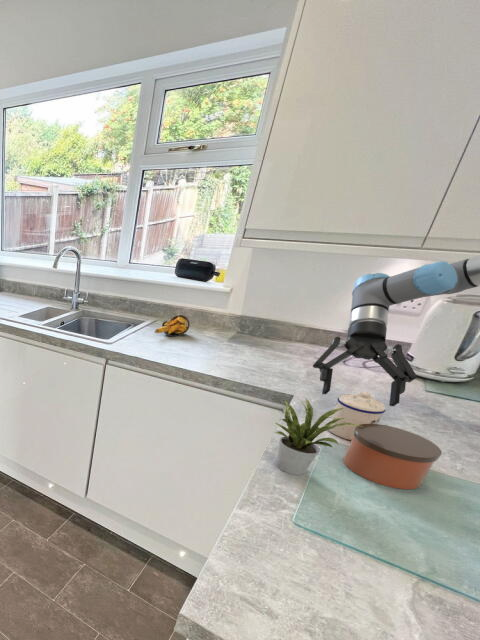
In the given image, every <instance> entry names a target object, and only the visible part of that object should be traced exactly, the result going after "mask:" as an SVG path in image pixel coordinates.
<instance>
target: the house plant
mask: <svg viewBox="0 0 480 640" xmlns="http://www.w3.org/2000/svg"><path fill="white" fill-rule="evenodd" d="M282 401H283V402H284V403H285V405H286V406H285V411H284V412H283V411H281V410H279V412H280V413H282V414H284V418H282V419H280V418H279V421H283V422H284V423H286V426H287V427H286V426H284V425H282V424H280V423H278V422H275V424H276V425H277V426H278V427H280V428H281V429H282V430H283V431H285V432H286V433H287V434H288V435H286V434H285V433H284V432H283V431H279V430H278V431H274V432H273V434H278V435H281V436H282V437H280V438H279V442H278V449H277V457H276V463H275V465H276V467H277V468H278V469H279V470H281V471H283V472H285V473H287V474H289V475H294V476H302V475H304V474H305V473H306V471H307V470H308V468H309V467H310V465H311V464H312V463H313V461H314V460H315V458H316V457H317V456H318V454H319V453H320V448H319V446H317V445H320V446H325V447H329V448H332V449H333V450H335V448H334V447H333V445H332V444H331V443H334V444H336V445H339V442H338V440H336V439H335V438H333V437H322V438H319V439H316V438H317V437H318V436H320V435H321V434H322V433H325V432H326V431H329V429H334V428H333V427H337V426H342V425H355V426H360V425H357V424H353V423H340V424H337V423H335V422H337V421H339V420H340V419H345V418H337V419H335V418H333V417H331V416H332V415H333V414H334V413H336V412H337V411H339V410H342V409H344V408H338V409H335V408H333V409H330V410H328V411H327V412H325V413H323V414H322V415H321V416H319V417H318V419H317V420H316V421H315V422H314V423H313V425H312V422H313V416H314V408H313V406H312V405H311V403H310V401H309V399H307V398H305V403H304V402H303V401H302V400H300V402H301V403H302V404H303V407H304V409H305V418H304V422H302V423H301V424H300V422H299V418H298V415H297V412H296V410H295V409H294V408H293V406H291V404H290V403H289V402H288V401H286V400H284V399H282ZM305 404H306V405H305ZM331 418H333V419H334V420H332V421H330V420H329V421H330V422H329V421H328V422H327V423H325V424H324V425H323V426H321V427H319V426H320V425H321V424H322V423H323V422H324V421H326V420H327V419H331ZM331 424H336V425H333V426H330V425H331ZM361 427H363V426H361ZM315 439H316V440H315ZM314 440H315V441H314Z"/></svg>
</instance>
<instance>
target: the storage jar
mask: <svg viewBox="0 0 480 640" xmlns="http://www.w3.org/2000/svg"><path fill="white" fill-rule="evenodd" d="M361 426H363V427H361ZM353 435H354V436H353V438H352V440H350V443H349V445H348V447H347V448H346V451H345V454H344V456H343V458H342V462H343V463H344V466H346V467H347V469H349V470H350V471H352V472H353V473H355V474H356V475H358V476H360V477H362V478H363V479H365V480H368V481H370V482H373V483H376V484H378V485H382V486H384V487H388V488H392V489H398V490H399V489H400V490H416V489H419V488H420V487H421V486H422V485H423V482H424V481H425V479H426V477H427V476H428V474H429V472H430V471H431V468H432V467H433V465H434V463H435V462H437V461H439V459H440V458H441V456H442V450H441V448H440V447H439V446H438V445H437V444H436V443H434V442H432V441H431V440H429V439H428V438H425V437H423V436H421V435H419V434H416V433H413V432H411V431H408V430H405V429H402V428H398V427H394V426H391V425H385V424H380V423H378V424H361V425H360V426H356V428H355V430H354V432H353Z"/></svg>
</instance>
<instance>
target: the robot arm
mask: <svg viewBox="0 0 480 640" xmlns="http://www.w3.org/2000/svg"><path fill="white" fill-rule="evenodd" d="M477 287H480V255H476V256H473V257H470V258H466V259H462V260H458V261H454V262H451V263H449V262H447V261H446V260H445V261H444V260H440V261H436V262H433V263H428V264H424V265H421V266H418V267H416V268H413V269H410V270H406V271H403V272H401V273H398V274H394V275H392V276H390V275H389V274H387V273H383V272H375V273H367V274H364V275H362V276H360V277H358V278H357V279H356V280H355V282H354V286H353V290H352V291H351V296H352V298H351V308H350V314H349V322H348V329H347V334H346V335H347V336H346V339H342V338H341V336H335V337H334V338H333V339H332V340H331V342H330V346H329V347H328V348H327V349H326V350H325V351H324V353H322V354H321V355H320V357H319V358H318V359H316V361H314V363H313V365H312V367H313V368H314V369H319V372H320V374H319V381H320V382H323V385H322V386H323V387H322V393H321V394H322V395H327V394H328V393H329V392H331V386H332V379H333V371H334V368H333V367H334V366H336V365H338V364H339V363H341V362H343V361H344V360H346V359H348V358H349V357H351V356H352V357H354V358H355V359H363V360H367V361H369V360H372V361H373V362H374V363H376V364H377V365H379V367H381V368H382V369H383V370H384V372H386V373H387V374H388V376H389V377H390V378H392V379H393V381H392V382H391V383H390V384H391V385H390V394H389V395H390V396H389V404H388V405H389V406H390V407H395V406H396V405H398V404H400V399H401V397H400V396H401V395H402V394H403V393H405V391H406V385H407V383H411V382H413V381H414V380H416V379H417V378H418V376H417V374H416V373H415V371H414V369H413V367H412V366H411V364H410V363H409V361H408V359H407V358H406V356H405V354H404V353H403V347H402V346H403V345H401V344H399V343H397V344H395V345H387V343H386V339H387V330H388V328H387V326H388V320H389V319H388V318H389V309H390V306H394V305H398V304H402V303H405V302H409V301H413V300H417V299H422V298H427V297H435V296H441V295H453V294H457V293H462V292H463V291H465V290H470V289H474V288H477ZM341 346H343V347H344V348H345V349H346V350H345V351H343V352H342V353H340V354H339V355H336V356H335V357H334V358H332V359H330V360H329V361H327V362H326V363H324V362H325V361H326V359H327V358H328V357H329V356H330V355H331V354H332V353H333V352H334V351H335V350H336V349H337V348H340V347H341ZM385 351H386V352H388V354H387V353H386V352H385ZM388 355H390V357H391V359H392V360H391V359H390V358H389V357H388Z"/></svg>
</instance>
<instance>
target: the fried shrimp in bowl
mask: <svg viewBox="0 0 480 640" xmlns="http://www.w3.org/2000/svg"><path fill="white" fill-rule="evenodd" d="M190 323H191V322H190V320H189V318H188V317H187V316H186V315H183V314H177V315H175V316H173V317H171V318H170V320H168V321H167V320H165V321H163V322H162V324H161V327H158V328H156V329H155V330H154V334H162V333H163V334H165V335H167V336H168V337H177V336H178V337H179V336H182V335H184V334H186V333H187V332H188V331H189V329H190V327H191V325H190Z"/></svg>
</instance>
